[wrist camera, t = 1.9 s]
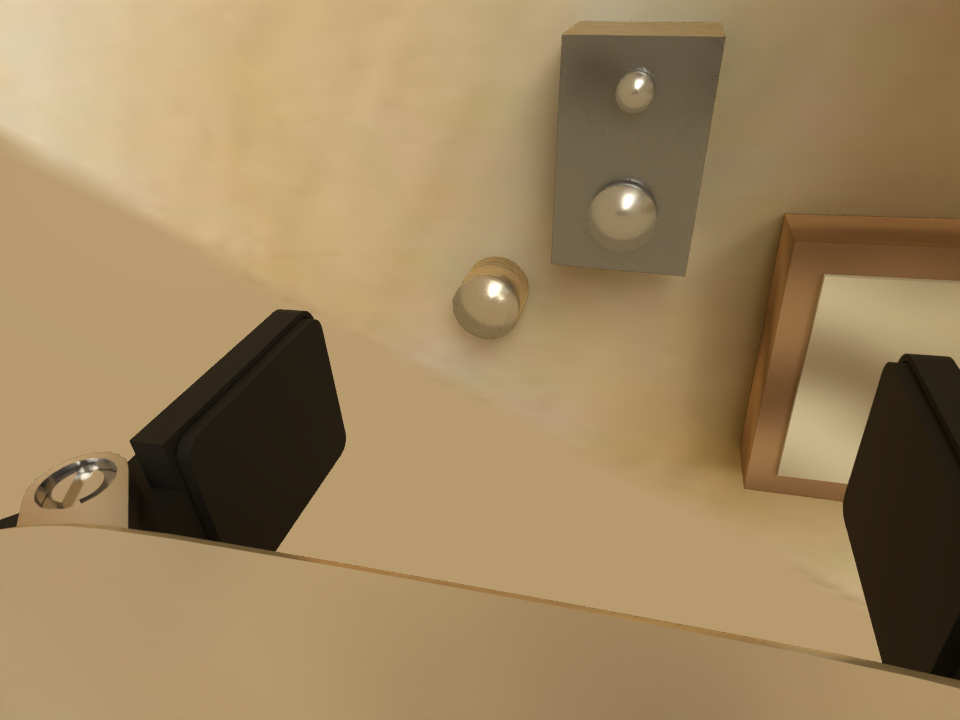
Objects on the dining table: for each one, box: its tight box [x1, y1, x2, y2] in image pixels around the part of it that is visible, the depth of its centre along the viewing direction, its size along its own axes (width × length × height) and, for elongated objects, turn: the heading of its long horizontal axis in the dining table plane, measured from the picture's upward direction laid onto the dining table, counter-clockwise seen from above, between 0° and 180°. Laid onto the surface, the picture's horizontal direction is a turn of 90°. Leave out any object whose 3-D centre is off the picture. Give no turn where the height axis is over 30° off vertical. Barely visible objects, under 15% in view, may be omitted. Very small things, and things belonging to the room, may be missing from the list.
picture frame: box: [740, 214, 960, 501], centre depth 27 cm, size 12×10×3 cm
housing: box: [551, 21, 725, 277], centre depth 24 cm, size 8×5×5 cm, turn 1°
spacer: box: [453, 257, 529, 339], centre depth 30 cm, size 3×3×2 cm
